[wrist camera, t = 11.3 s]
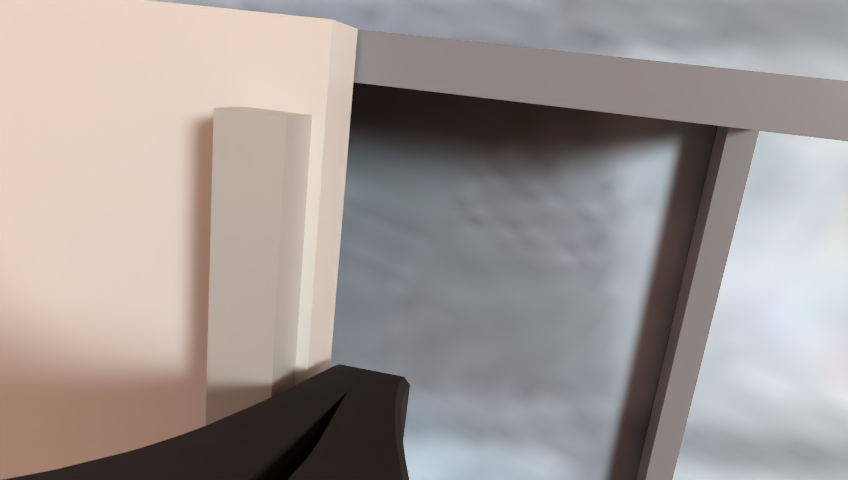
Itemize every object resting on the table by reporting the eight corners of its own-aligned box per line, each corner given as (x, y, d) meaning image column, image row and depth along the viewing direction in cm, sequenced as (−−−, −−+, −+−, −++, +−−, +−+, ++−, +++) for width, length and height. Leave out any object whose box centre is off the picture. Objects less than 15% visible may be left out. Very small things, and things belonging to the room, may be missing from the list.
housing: (639, 566, 16) (683, 767, 11) (-154, 388, 20) (-376, 481, 15) (755, 89, 13) (884, 85, 8) (-210, -17, 17) (-513, -63, 12)
